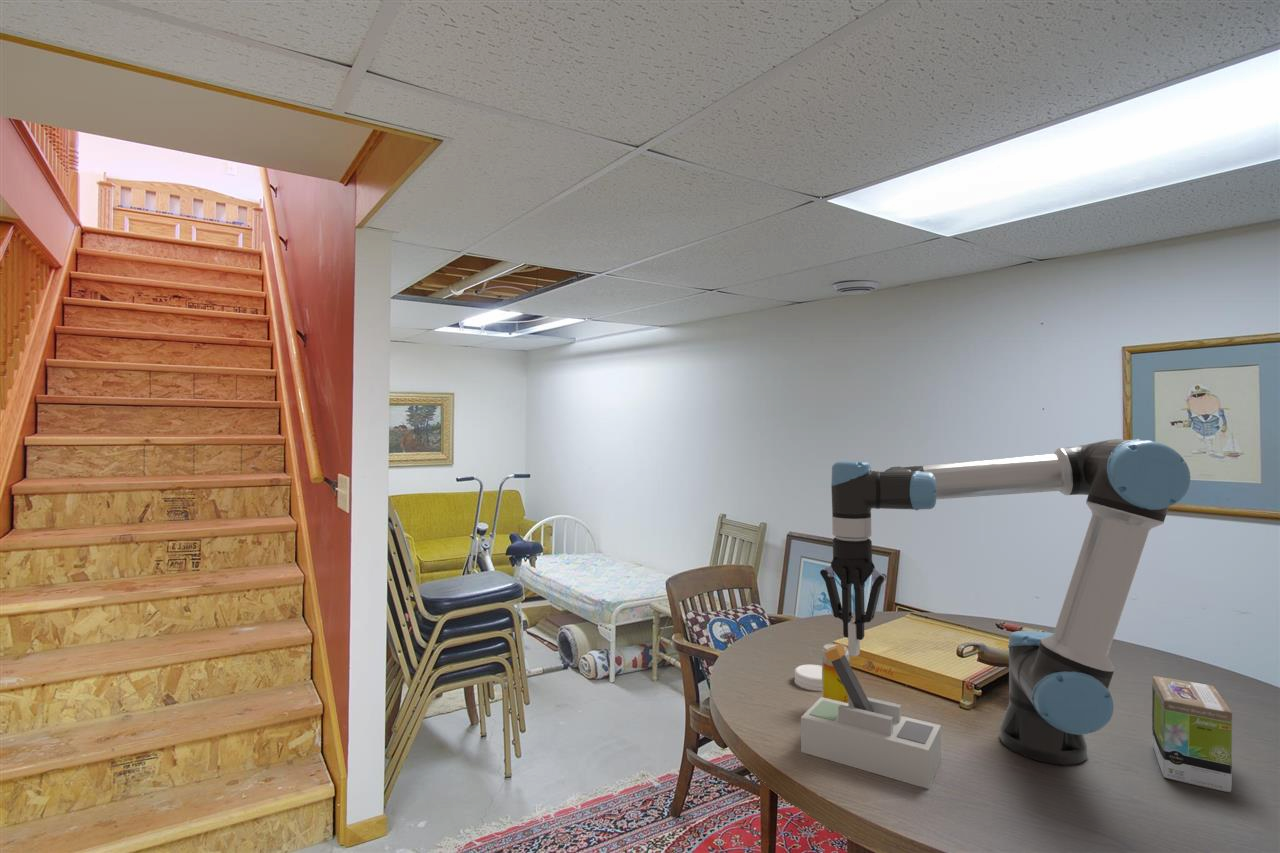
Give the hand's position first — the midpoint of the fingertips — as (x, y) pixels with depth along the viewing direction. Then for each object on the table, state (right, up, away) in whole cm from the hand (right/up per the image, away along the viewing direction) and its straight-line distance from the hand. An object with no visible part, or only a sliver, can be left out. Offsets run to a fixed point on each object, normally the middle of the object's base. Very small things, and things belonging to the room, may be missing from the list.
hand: (854, 654), depth 130 cm
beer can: (+2, -20, +18) cm, 27 cm away
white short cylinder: (+2, -20, +35) cm, 41 cm away
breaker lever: (+3, -12, -2) cm, 13 cm away
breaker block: (+3, -20, -2) cm, 20 cm away
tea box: (+62, -20, -7) cm, 66 cm away
